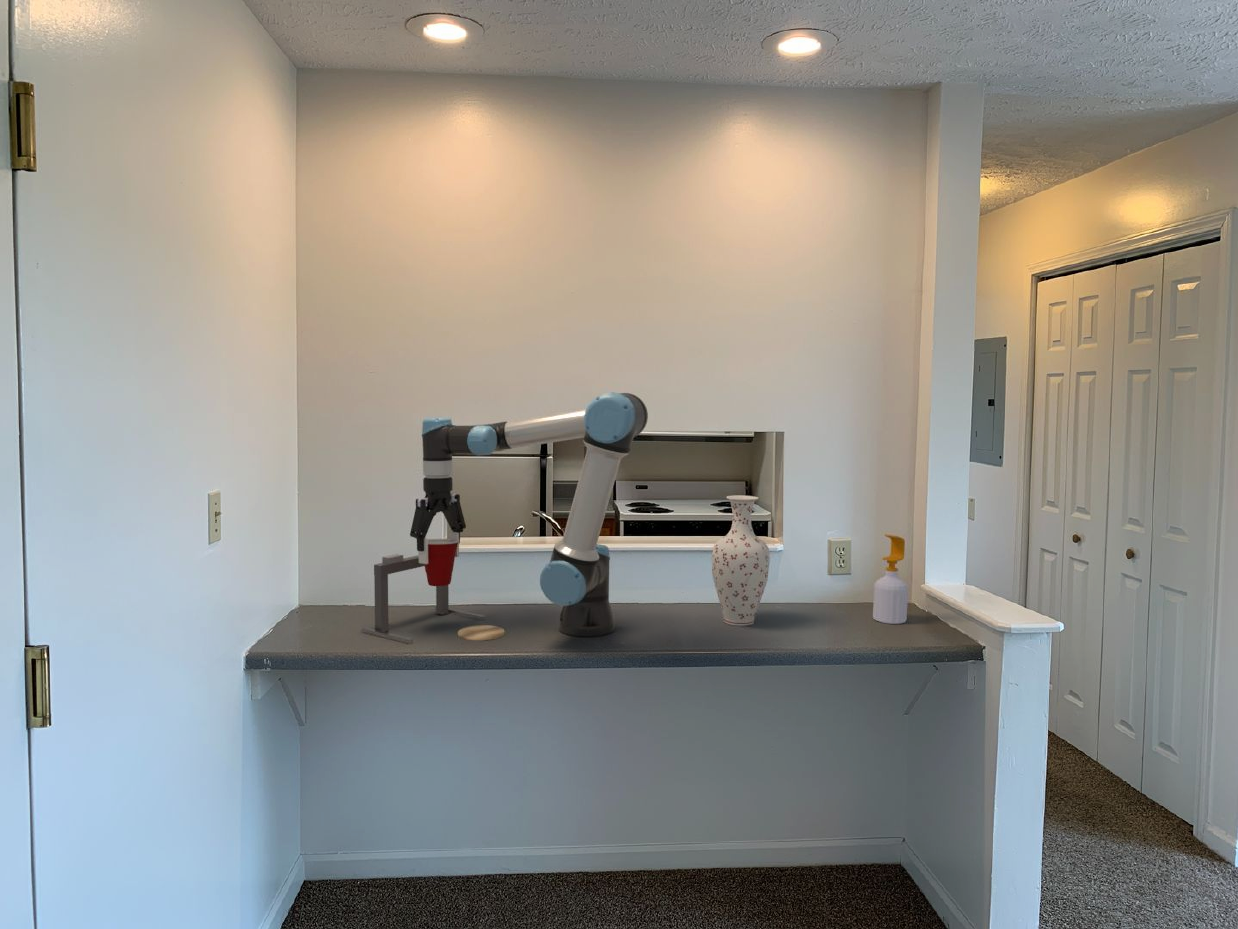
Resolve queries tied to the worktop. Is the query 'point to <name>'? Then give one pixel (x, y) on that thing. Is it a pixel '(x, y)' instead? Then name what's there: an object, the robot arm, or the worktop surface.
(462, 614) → the track
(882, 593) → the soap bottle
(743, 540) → the vase
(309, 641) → the worktop surface
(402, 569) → the gantry frame
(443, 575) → the plastic cup
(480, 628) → the cork mat
